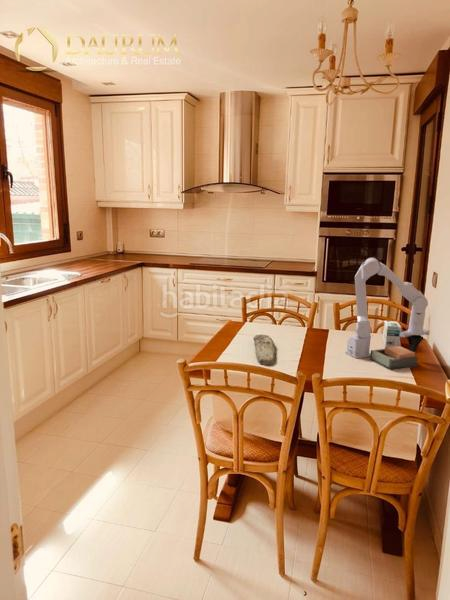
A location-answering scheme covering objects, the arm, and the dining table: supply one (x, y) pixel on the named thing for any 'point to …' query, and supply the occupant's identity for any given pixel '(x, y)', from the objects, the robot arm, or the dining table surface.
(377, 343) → the dining table surface
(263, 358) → the elongated rock
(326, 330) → the dining table surface
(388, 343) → the light bulb box
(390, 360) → the roller bed
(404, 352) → the slab
